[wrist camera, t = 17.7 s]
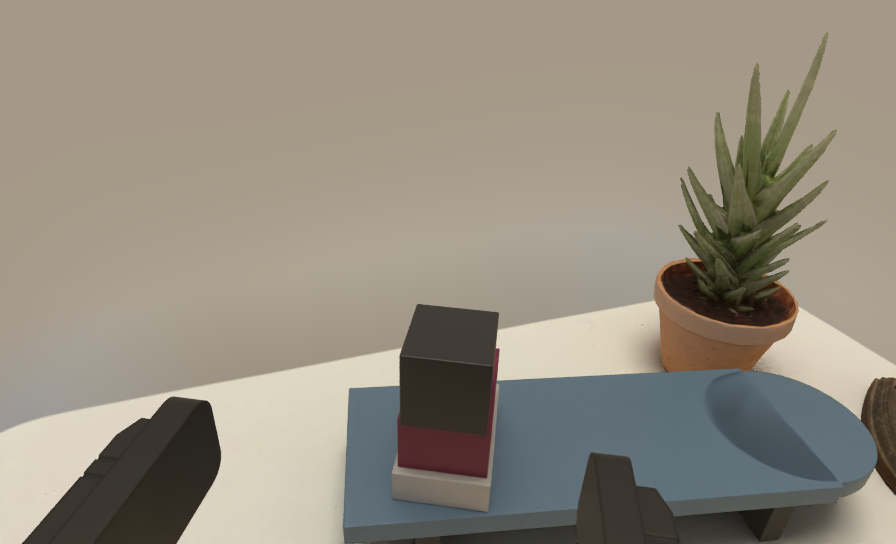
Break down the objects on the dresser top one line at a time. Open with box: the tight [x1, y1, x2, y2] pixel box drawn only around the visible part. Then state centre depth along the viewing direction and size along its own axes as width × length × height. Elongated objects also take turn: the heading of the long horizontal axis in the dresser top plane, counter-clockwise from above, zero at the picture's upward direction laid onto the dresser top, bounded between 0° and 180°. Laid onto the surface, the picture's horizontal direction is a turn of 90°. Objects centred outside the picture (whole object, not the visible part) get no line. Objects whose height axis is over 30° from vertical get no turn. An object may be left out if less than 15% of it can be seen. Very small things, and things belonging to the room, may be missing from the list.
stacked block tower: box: [392, 304, 499, 512], centre depth 29 cm, size 9×5×9 cm, turn 172°
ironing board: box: [343, 368, 877, 544], centre depth 33 cm, size 30×10×5 cm, turn 97°
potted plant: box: [654, 33, 837, 372], centre depth 39 cm, size 10×10×25 cm
